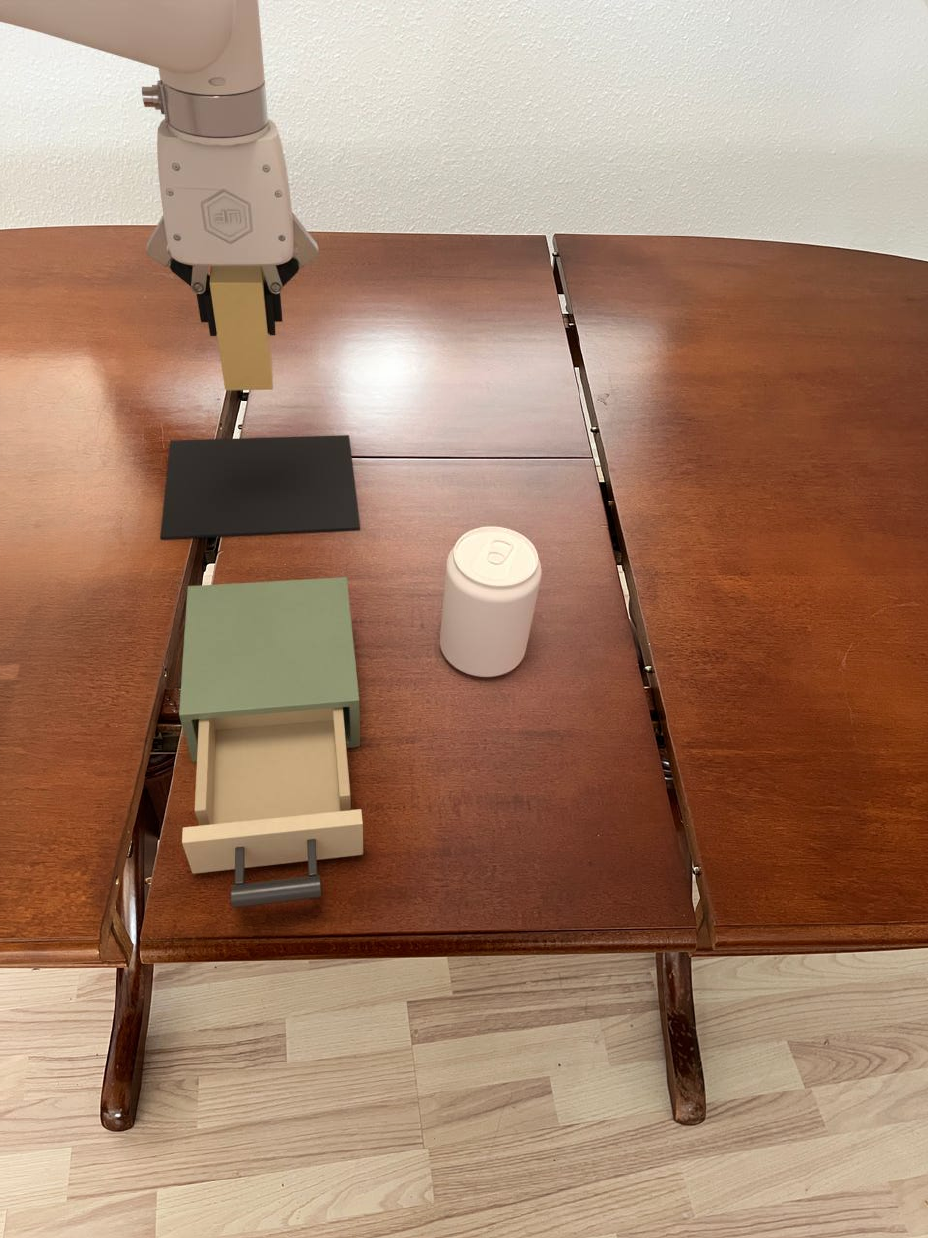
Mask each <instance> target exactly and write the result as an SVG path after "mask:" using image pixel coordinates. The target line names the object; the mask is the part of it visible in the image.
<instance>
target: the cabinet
mask: <svg viewBox="0 0 928 1238" xmlns="http://www.w3.org/2000/svg"><path fill="white" fill-rule="evenodd" d="M348 583H349V582H348V576H344V577H343V576H342V577H325V578H324V577H321V578H308V579H307V578H304V579H289V580H288V579H287V580H272V581H271V580H270V581H255V582H235V583H220V584H203V585H202V584H199V585H188V586H187V592H186V606H185V619H184V632H183V633H184V636H183V650H182V651H183V652H182V663H181V664H182V666H181V679H180V695H179V709H178V710H179V711H178V717H179V719H180V720H179V721H180V723H181V727H182V731H183V734H184V737H185V741H186V744H187V748H188V752H189V756H190V759H191V762H192V763H197V750H198V729H199V719H206V718H218V717H230V716H242V715H254V714H267V713H279V712H291V711H303V710H315V709H327V708H339V707H343V715H344V727H345V738H346V749H352V748H360V747H361V712H360V709H361V708H360V692H359V682H358V673H357V672H358V671H357V662H356V653H355V651H356V650H355V641H354V633H353V622H352V613H351V603H350V593H349V585H348Z"/></svg>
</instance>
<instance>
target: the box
mask: <svg viewBox="0 0 928 1238" xmlns="http://www.w3.org/2000/svg"><path fill="white" fill-rule="evenodd" d="M209 276H210V290H211V297H212V303H213V310H214V317H215V324H216V331H217V335H216V338H217V345H218V351H219V358H220V365H221V371H222V378H223V384H224V390H225V391H260V390H261V391H266V390H268V391H269V390H274V375H273V372H274V371H273V357H272V346H271V335H270V334H268V329H267V319H266V309H265V299H264V281H265V276H264V273H263V270H262V267H261V266H210V272H209Z"/></svg>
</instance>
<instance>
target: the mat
mask: <svg viewBox="0 0 928 1238" xmlns="http://www.w3.org/2000/svg"><path fill="white" fill-rule="evenodd" d="M167 458H168V459H167V468H166V477H165V489H164V497H163V508H162V516H161V517H162V518H161V525H160V540H161V541H162V540H163V541H164V540H179V539H180V540H181V539H183V540H185V539H203V538H224V537H225V538H226V537H227V538H228V537H245V536H246V537H248V536H263V535H264V536H266V535H268V536H269V535H284V534H285V535H288V534H289V535H290V534H307V533H308V534H309V533H325V532H326V533H328V532H348V531H349V532H350V531H360V530H361V523H360V515H359V506H358V498H357V491H356V482H355V475H354V464H353V457H352V449H351V441H350V435H349V434H345V435H340V434H339V435H312V436H311V435H310V436H309V435H308V436H305V435H304V436H278V437H277V436H276V437H275V436H274V437H272V436H271V437H244V438H242V437H241V438H209V439H205V438H204V439H176V440H175V439H174V440H173V439H171V440H170V441H169V450H168V457H167Z"/></svg>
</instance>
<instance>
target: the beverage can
mask: <svg viewBox="0 0 928 1238" xmlns="http://www.w3.org/2000/svg"><path fill="white" fill-rule="evenodd" d="M542 573H543V571H542V563H541V561H540V558H539V554H538V551H537V549H536V547H535V545H534V544H533V543H532V542H531V540H530V539H528V538H527V537H526V536H525V535H523V534H521V533H520V532H518V531H515V530H513V529H510V528H508V527H507V528H506V527H503V526H492V525H491V526H481V527H477V528H474V529H471V530H469V531H467V532H465V533H464V534H462V535H461V536H460V537H459V539H458V540H457V541H456V543H455V544H454V546H453V547H452V549H451V550H450V551H449V554H448V556H447V559H446V566H445V576H444V586H443V597H442V598H443V599H442V608H441V609H442V610H441V619H440V631H439V632H440V633H439V647H440V650H441V653H442V654H443V656H444V658H445V659H446V660H447V661H448V663H449V664H450V665H451V666H452V667H454V668H455V669H457V670H459V671H460V672H462V673H465V674H467V675H471V676H473V677H480V678H492V677H493V678H494V677H499V676H502V675H505V674H507V673H509V672H511V671H513V670H514V669H515V668H517V666H519V665H520V663H521V662H522V661H523V659H524V657H525V655H526V650H527V646H528V644H529V643H528V642H529V637H530V633H531V628H532V623H533V618H534V614H535V609H536V604H537V599H538V595H539V589H540V586H541V580H542V575H543V574H542Z"/></svg>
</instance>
